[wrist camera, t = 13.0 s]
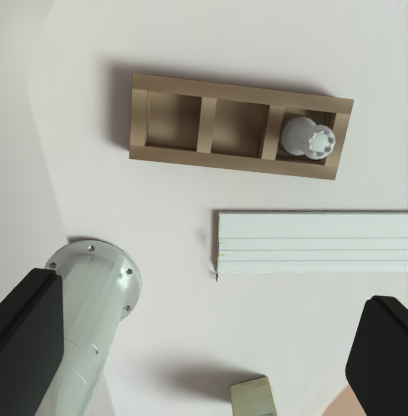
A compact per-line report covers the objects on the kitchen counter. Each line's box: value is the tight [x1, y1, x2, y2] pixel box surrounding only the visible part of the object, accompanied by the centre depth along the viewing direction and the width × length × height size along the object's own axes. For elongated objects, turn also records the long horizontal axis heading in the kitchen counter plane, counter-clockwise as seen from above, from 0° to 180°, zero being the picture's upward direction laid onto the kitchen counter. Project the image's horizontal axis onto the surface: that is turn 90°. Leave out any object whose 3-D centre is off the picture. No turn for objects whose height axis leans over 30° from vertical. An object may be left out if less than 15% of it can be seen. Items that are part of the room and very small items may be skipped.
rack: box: [129, 73, 354, 180], centre depth 36 cm, size 9×23×4 cm, turn 84°
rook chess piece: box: [278, 115, 335, 160], centre depth 34 cm, size 4×4×8 cm
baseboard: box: [216, 211, 408, 281], centre depth 42 cm, size 30×3×10 cm
